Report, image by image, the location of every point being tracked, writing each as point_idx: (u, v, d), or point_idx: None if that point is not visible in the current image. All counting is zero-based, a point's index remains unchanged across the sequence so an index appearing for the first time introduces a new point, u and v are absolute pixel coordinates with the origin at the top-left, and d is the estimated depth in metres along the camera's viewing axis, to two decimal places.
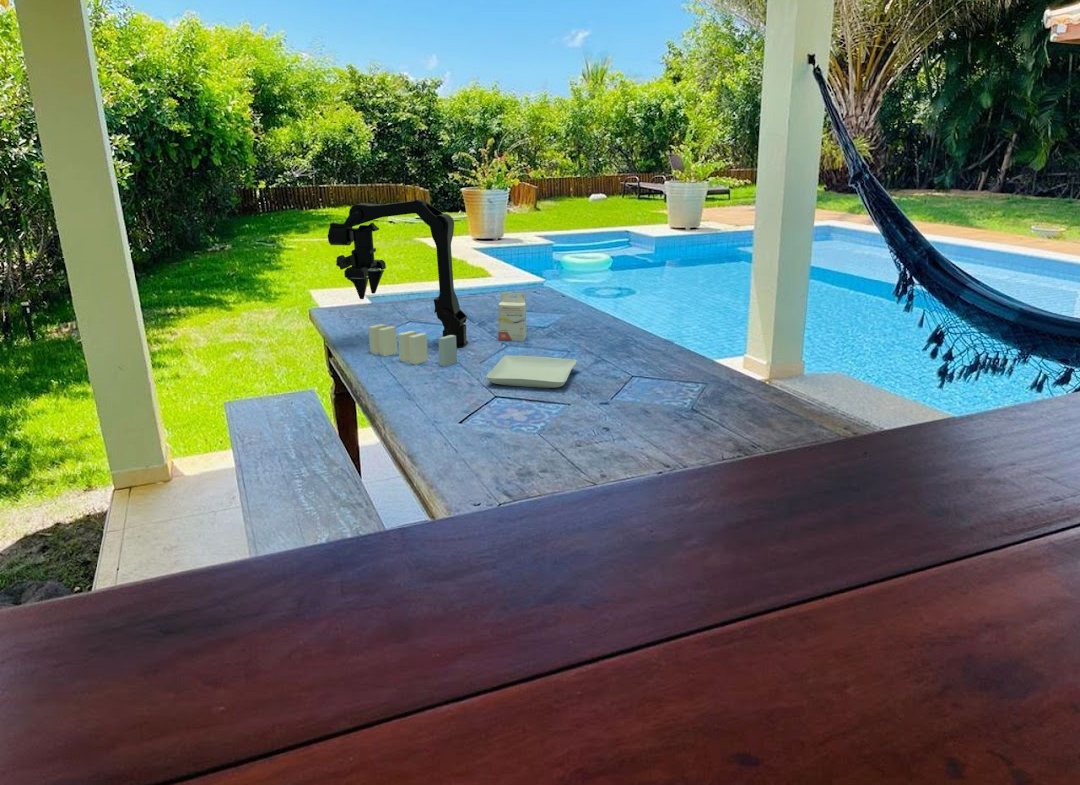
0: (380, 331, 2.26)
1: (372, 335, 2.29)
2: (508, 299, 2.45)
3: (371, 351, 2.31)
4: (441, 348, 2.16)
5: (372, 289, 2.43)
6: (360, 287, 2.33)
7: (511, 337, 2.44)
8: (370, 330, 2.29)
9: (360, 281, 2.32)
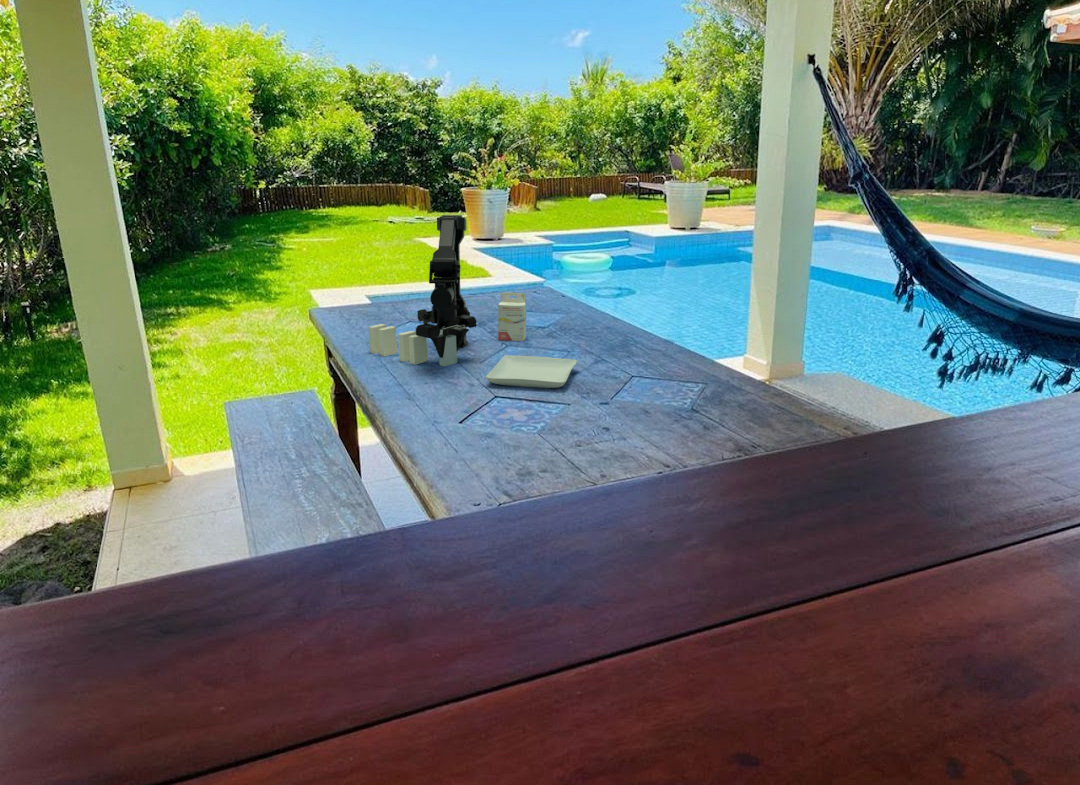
0: (380, 331, 2.26)
1: (372, 335, 2.29)
2: (508, 299, 2.45)
3: (371, 351, 2.31)
4: None
5: None
6: (438, 345, 2.15)
7: (511, 337, 2.44)
8: (370, 330, 2.29)
9: (438, 339, 2.14)
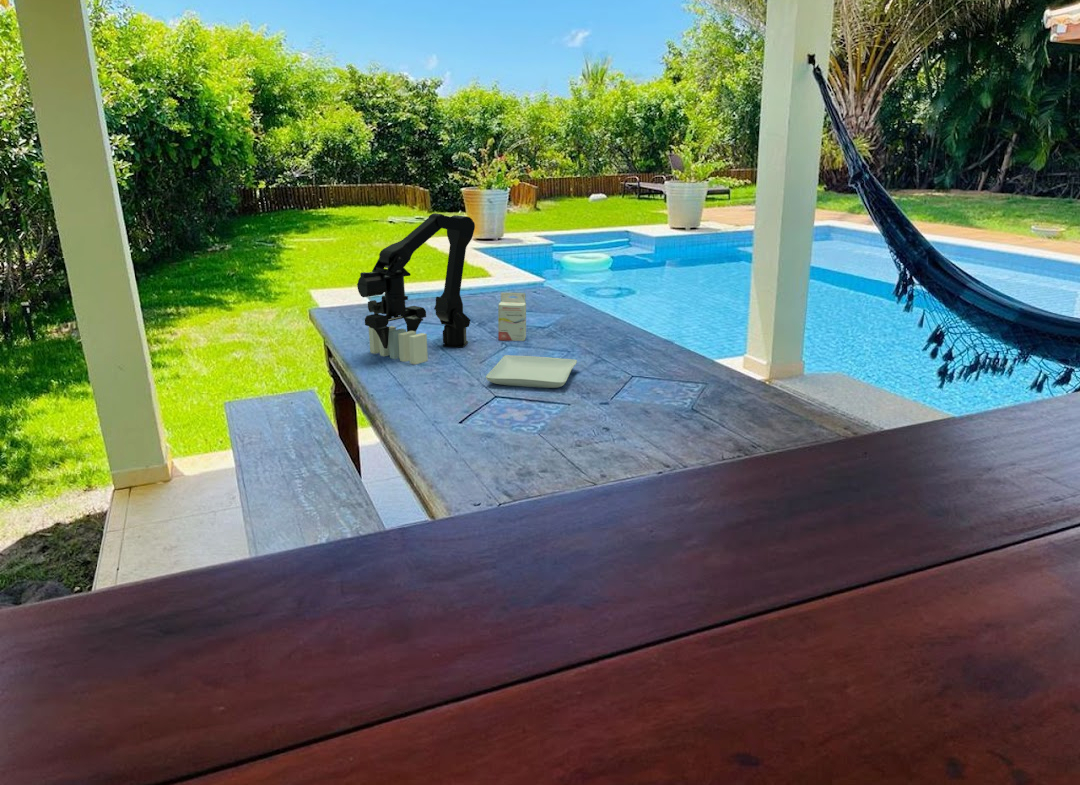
0: None
1: (372, 335, 2.29)
2: (508, 299, 2.45)
3: (371, 351, 2.31)
4: (391, 341, 2.24)
5: None
6: (382, 336, 2.20)
7: (511, 337, 2.44)
8: (370, 330, 2.29)
9: (382, 330, 2.20)
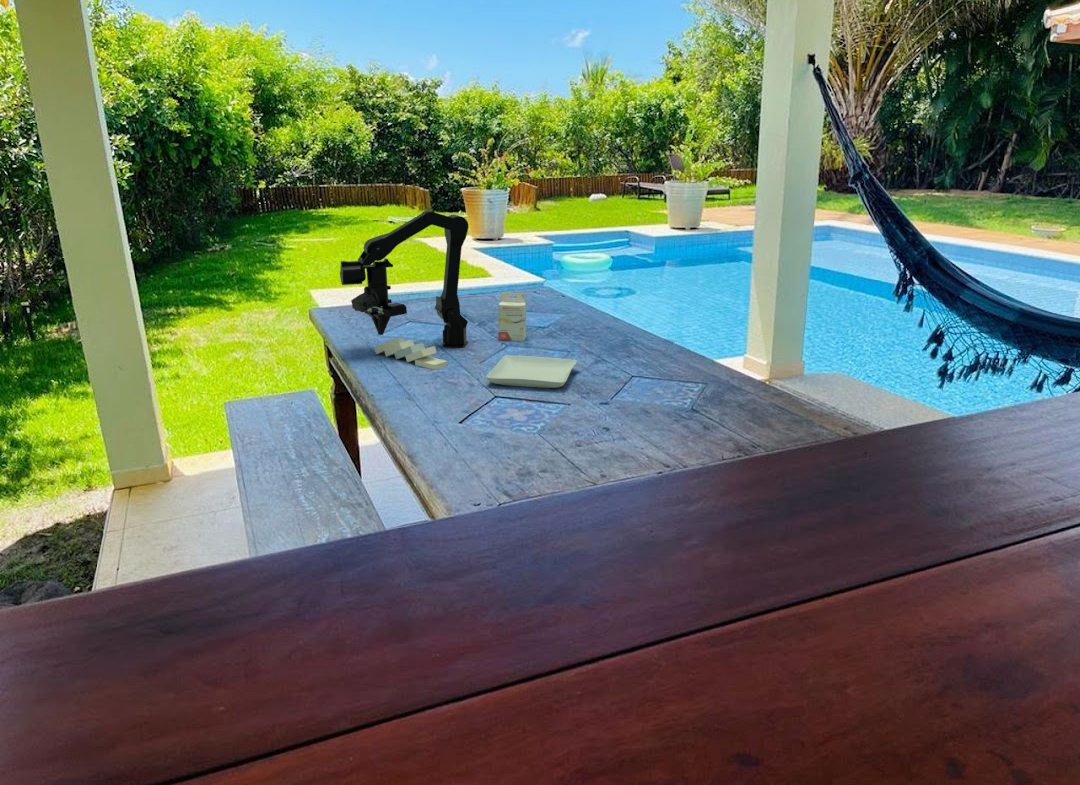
0: (399, 346, 2.22)
1: (386, 347, 2.26)
2: (508, 299, 2.45)
3: (375, 349, 2.29)
4: (405, 352, 2.21)
5: None
6: (383, 322, 2.28)
7: (511, 337, 2.44)
8: (388, 343, 2.25)
9: (384, 316, 2.28)
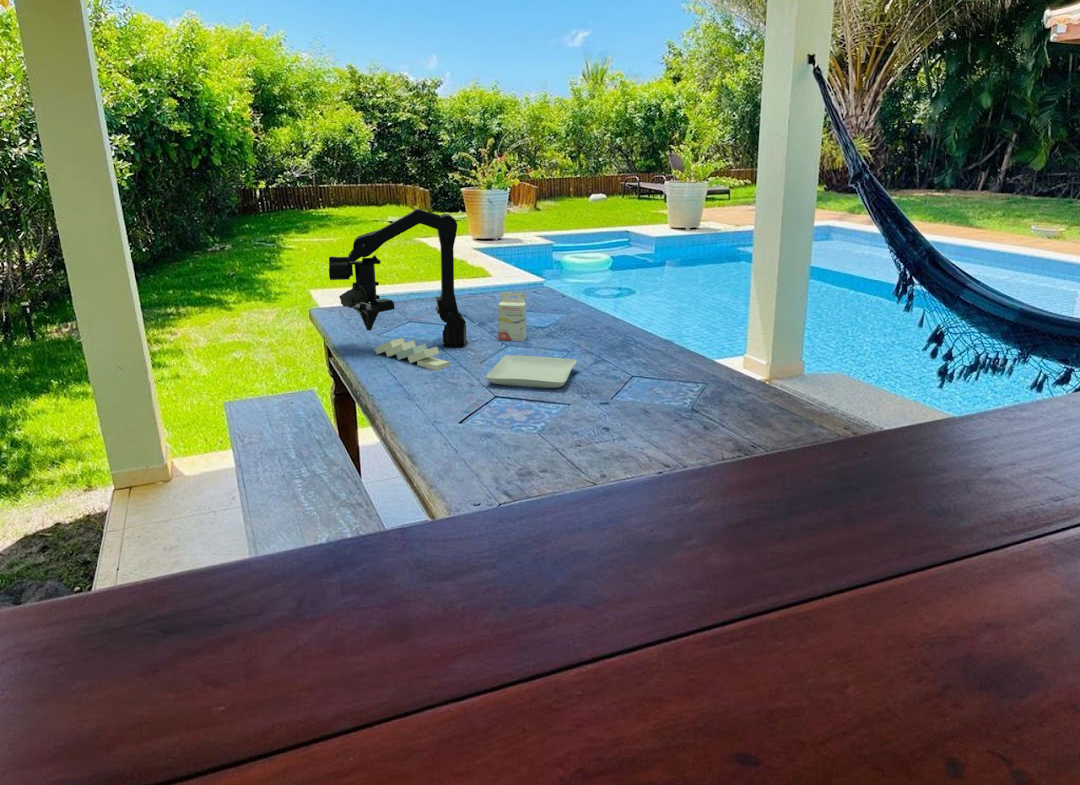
0: (401, 347, 2.22)
1: (387, 348, 2.26)
2: (508, 299, 2.45)
3: (376, 349, 2.29)
4: (407, 353, 2.20)
5: None
6: (372, 318, 2.31)
7: (511, 337, 2.44)
8: (389, 344, 2.25)
9: (372, 312, 2.31)
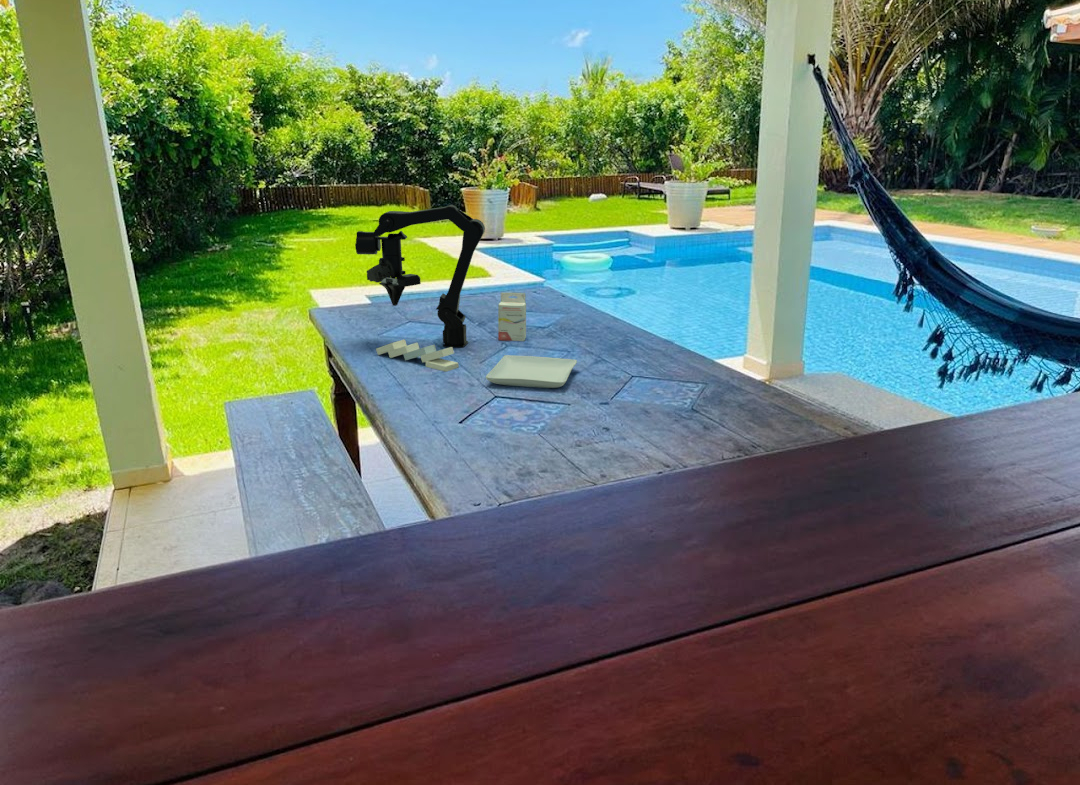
0: (405, 349, 2.21)
1: (388, 349, 2.25)
2: (508, 299, 2.45)
3: (377, 350, 2.28)
4: (417, 353, 2.20)
5: None
6: (398, 293, 2.34)
7: (511, 337, 2.44)
8: (390, 346, 2.24)
9: (398, 287, 2.34)
